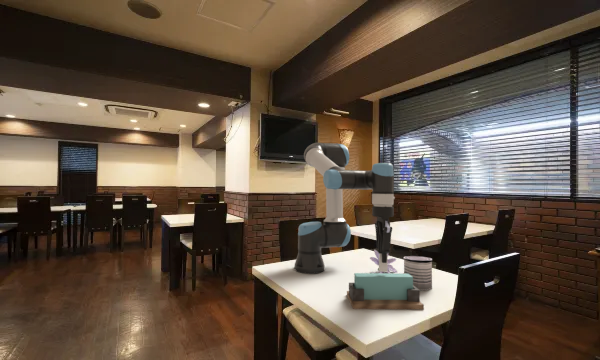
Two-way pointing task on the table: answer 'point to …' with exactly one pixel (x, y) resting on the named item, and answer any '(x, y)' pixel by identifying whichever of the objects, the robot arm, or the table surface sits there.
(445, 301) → the table surface
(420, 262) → the can
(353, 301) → the endcap board
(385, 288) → the teal rectangular block
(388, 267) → the water lily
